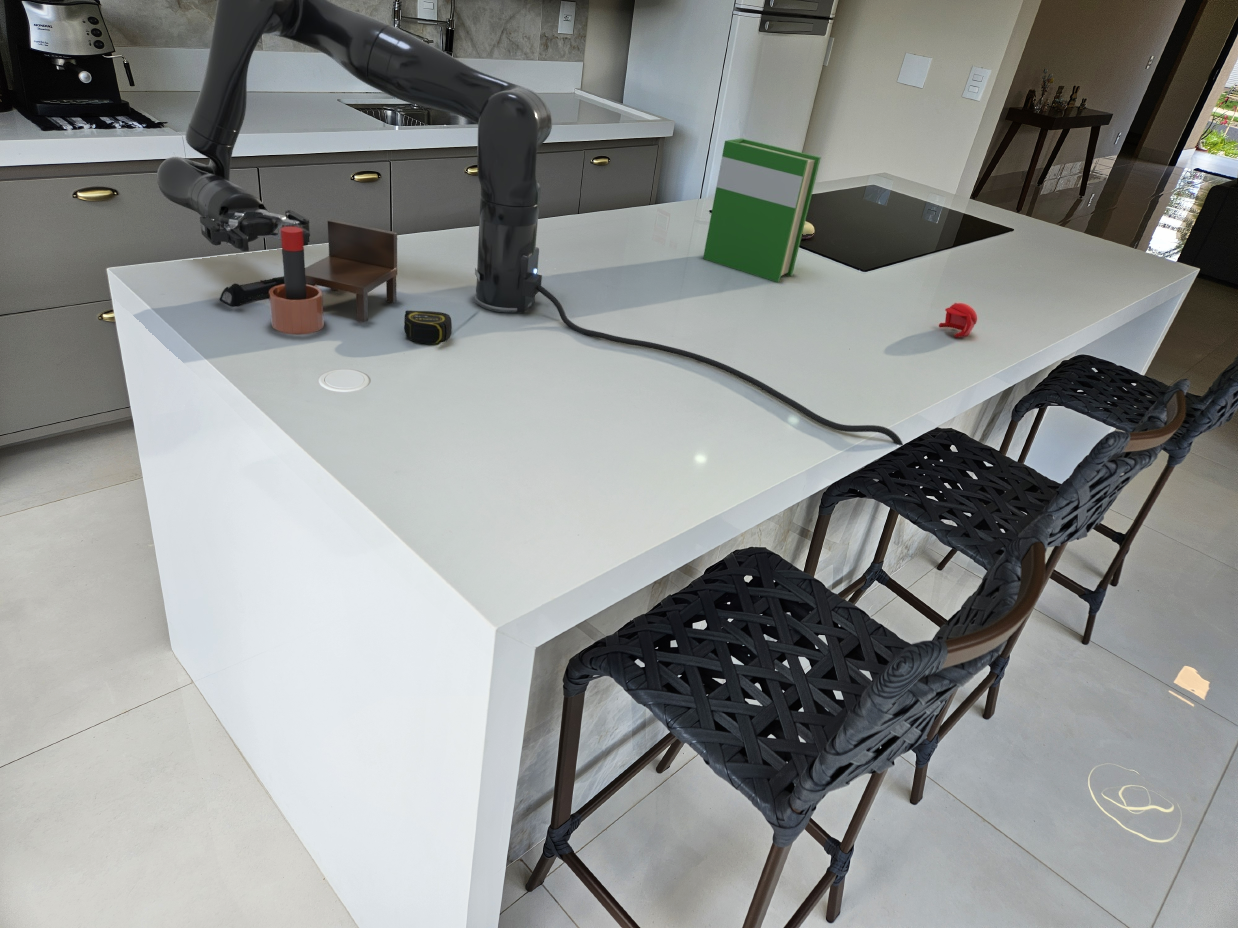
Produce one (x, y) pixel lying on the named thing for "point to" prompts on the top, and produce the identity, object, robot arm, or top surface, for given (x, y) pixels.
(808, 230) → the donut
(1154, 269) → the top surface
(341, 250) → the chair
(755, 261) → the hardback book
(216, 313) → the top surface
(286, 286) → the marker
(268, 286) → the electric trimmer
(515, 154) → the robot arm
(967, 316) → the red toy helmet
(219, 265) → the top surface
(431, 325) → the tape measure
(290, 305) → the pen pot
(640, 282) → the top surface
